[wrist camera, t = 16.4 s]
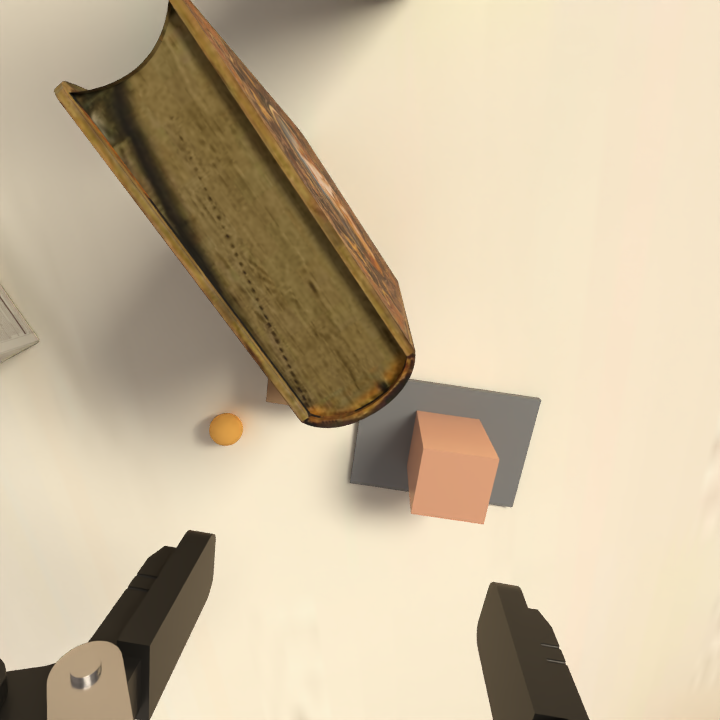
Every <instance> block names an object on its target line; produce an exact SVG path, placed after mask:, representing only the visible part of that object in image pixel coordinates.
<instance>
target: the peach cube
mask: <svg viewBox="0 0 720 720" xmlns="http://www.w3.org/2000/svg"><path fill="white" fill-rule="evenodd" d="M498 464H499V457H498V455H497V453H496V451H495V449H494V447H493V445H492V443H491V441H490V439H489V437H488V435H487V433H486V431H485V429H484V427H483V425H482V423H481V421H480V419H473V418H466V417H459V416H452V415H445V414H438V413H431V412H424V411H418V410H417V412H416V418H415V423H414V429H413V434H412V440H411V445H410V451H409V456H408V462H407V475H408V486H409V497H410V508H411V514H417V515H424V516H431V517H438V518H444V519H451V520H458V521H465V522H471V523H478V524H484V520H485V516H486V512H487V508H488V504H489V500H490V496H491V492H492V488H493V484H494V480H495V476H496V472H497V468H498Z"/></svg>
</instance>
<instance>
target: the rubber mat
mask: <svg viewBox="0 0 720 720" xmlns="http://www.w3.org/2000/svg"><path fill="white" fill-rule="evenodd" d="M540 403H541V400H540V399H539V398H535V397H528V396H522V395H515V394H508V393H501V392H494V391H488V390H481V389H474V388H467V387H461V386H454V385H447V384H440V383H433V382H427V381H420V380H413V379H409V380H408V382H407V383H406V385H405V386H404V388H403V389H402V390H401V392H400V393H399V394H398V395H397V396H396V397H395V398H394V399H393V400H392V401H391V402H390V403H389V404H387V405H386V406H385V407H383V408H382V409H380V410H379V411H377V412H376V413H374V414H372V415H370V416H369V417H367V418H365V419H362V420H360V421H359V426H358V433H357V439H356V446H355V453H354V460H353V466H352V473H351V480H350V483H355V484H361V485H368V486H375V487H381V488H388V489H394V490H401V491H408V492H409V486H408V475H407V462H408V456H409V451H410V445H411V440H412V434H413V429H414V423H415V418H416V412H417V410H418V411H424V412H431V413H438V414H445V415H452V416H459V417H466V418H473V419H480V421H481V423H482V425H483V427H484V429H485V431H486V433H487V435H488V437H489V439H490V441H491V443H492V445H493V447H494V449H495V451H496V453H497V455H498V457H499V464H498V468H497V472H496V476H495V480H494V484H493V488H492V492H491V496H490V500H489V504H494V505H500V506H507V507H512V506H513V503H514V499H515V495H516V491H517V488H518V484H519V480H520V477H521V473H522V469H523V465H524V462H525V458H526V454H527V451H528V447H529V443H530V440H531V436H532V432H533V428H534V425H535V421H536V417H537V414H538V410H539V406H540Z"/></svg>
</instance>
